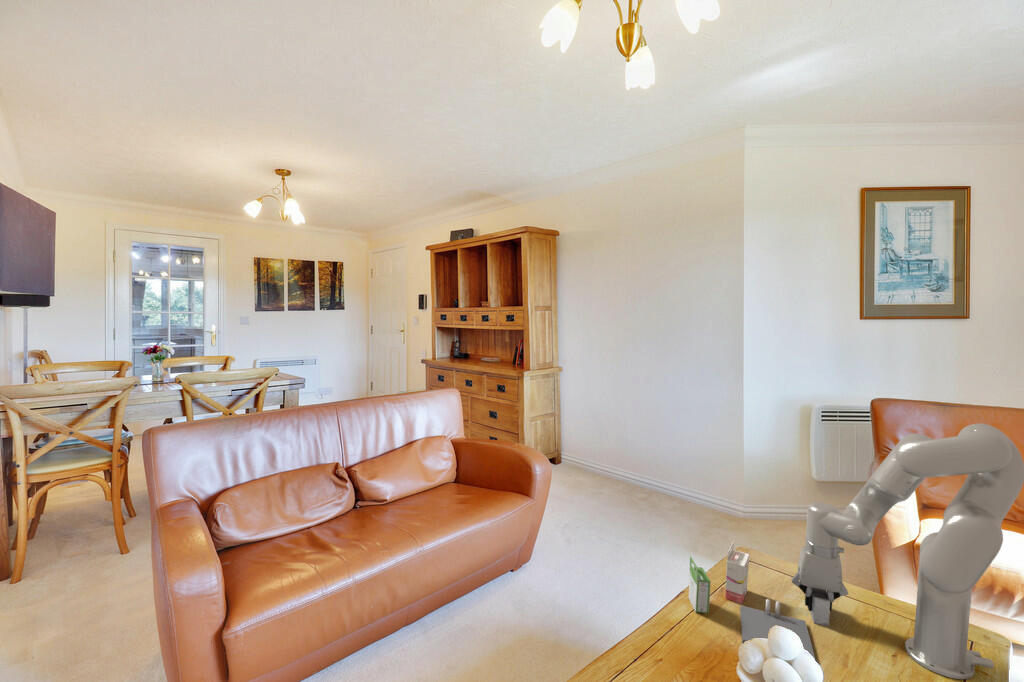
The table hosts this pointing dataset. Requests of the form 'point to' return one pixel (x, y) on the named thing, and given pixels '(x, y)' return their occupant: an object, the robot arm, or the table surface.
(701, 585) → the ink box
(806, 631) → the pin tray
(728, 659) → the table surface
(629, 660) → the table surface
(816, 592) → the block
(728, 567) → the ink cartridge box
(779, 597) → the table surface
